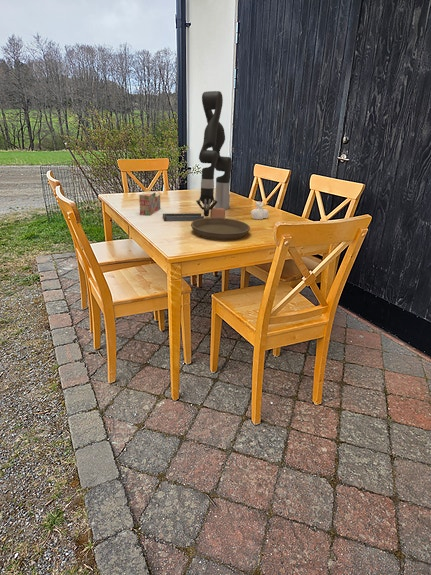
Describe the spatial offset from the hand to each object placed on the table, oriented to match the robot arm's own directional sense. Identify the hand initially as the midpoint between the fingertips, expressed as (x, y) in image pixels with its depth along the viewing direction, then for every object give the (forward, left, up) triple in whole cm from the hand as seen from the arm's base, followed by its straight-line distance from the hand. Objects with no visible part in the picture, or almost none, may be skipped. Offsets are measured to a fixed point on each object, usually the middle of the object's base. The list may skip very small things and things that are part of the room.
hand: (206, 216), depth 218 cm
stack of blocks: (+31, -21, -2) cm, 37 cm away
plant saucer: (-1, +30, -2) cm, 30 cm away
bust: (-34, 0, -2) cm, 34 cm away
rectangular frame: (+13, 0, -2) cm, 13 cm away
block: (-7, 0, -2) cm, 7 cm away
